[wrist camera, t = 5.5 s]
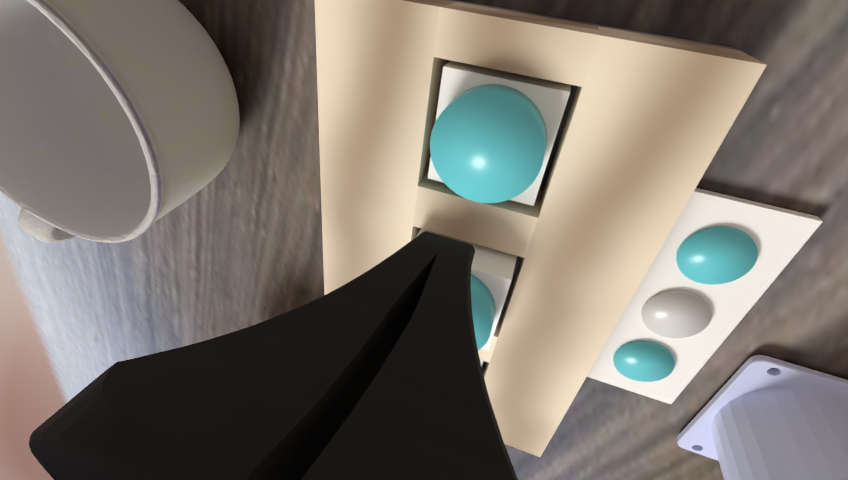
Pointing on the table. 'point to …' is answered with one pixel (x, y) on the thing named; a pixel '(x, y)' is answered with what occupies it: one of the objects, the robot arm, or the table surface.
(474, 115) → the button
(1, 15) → the teacup
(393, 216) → the button board
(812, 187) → the table surface
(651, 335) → the card
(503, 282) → the button mid
